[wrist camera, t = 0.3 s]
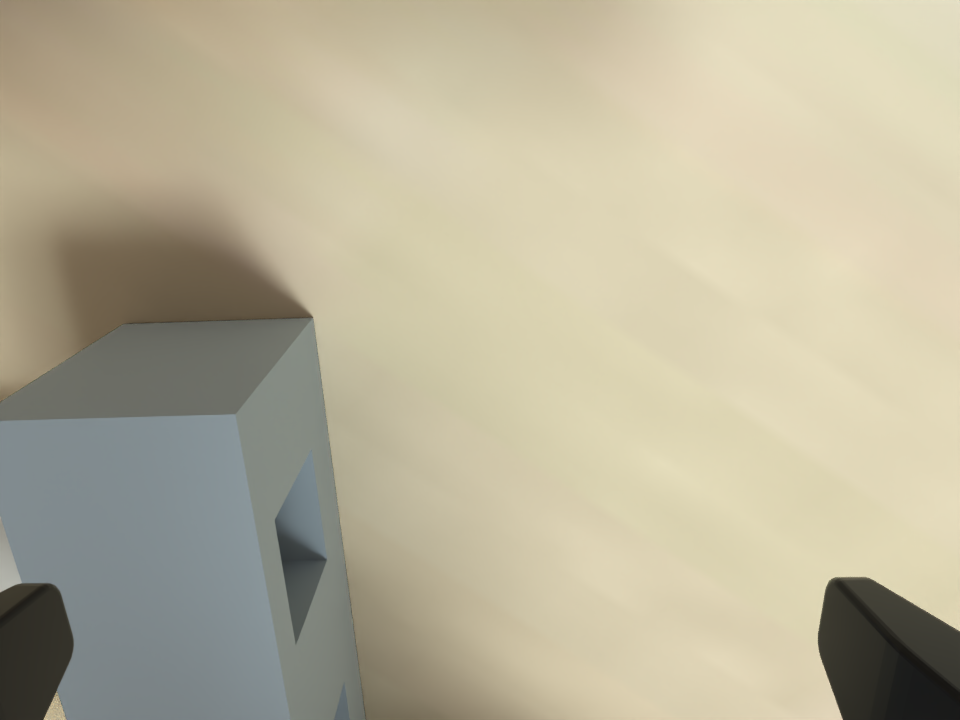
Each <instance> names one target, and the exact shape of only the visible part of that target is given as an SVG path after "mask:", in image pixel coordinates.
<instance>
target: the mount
mask: <svg viewBox="0 0 960 720" xmlns="http://www.w3.org/2000/svg"><path fill="white" fill-rule="evenodd" d="M0 517H1V520H2V523H3V526H4V529H5V532H6V536H7V539H8V542H9V545H10V548H11V551H12V554H13V557H14V560H15V563H16V566H17V569H18V572H19V575H20V578H21V582H22V583H51V584H53V585H55V586H57V588H58V589H59V590H60V592H61V595H62V598H63V602H64V605H65V609H66V612H67V616H68V619H69V623H70V626H71V630H72V633H73V638H74V649H73V654H72V658H71V660H70V663H69V665H68V667H67V669H66V672H65V674H64V676H63V678H62V680H61V682H60V685H59V687H58V689H57V692H58V695H59V698H60V701H61V704H62V707H63V710H64V713H65V716H66V719H67V720H366V718H365V710H364V703H363V695H362V687H361V680H360V672H359V665H358V657H357V649H356V642H355V634H354V626H353V619H352V611H351V604H350V596H349V588H348V581H347V573H346V565H345V558H344V550H343V542H342V535H341V527H340V520H339V512H338V504H337V497H336V489H335V481H334V474H333V466H332V459H331V451H330V443H329V436H328V428H327V420H326V413H325V405H324V398H323V390H322V382H321V375H320V367H319V359H318V352H317V344H316V336H315V329H314V321H313V318H288V319H258V320H228V321H198V322H168V323H138V324H122V325H121V326H119V327H118V328H116V329H115V330H113V331H111V332H110V333H108V334H107V335H105V336H104V337H102V338H100V339H99V340H97V341H96V342H94V343H93V344H91V345H89V346H88V347H86V348H85V349H83V350H82V351H80V352H78V353H77V354H75V355H74V356H72V357H71V358H69V359H67V360H66V361H64V362H63V363H61V364H59V365H58V366H56V367H55V368H53V369H52V370H50V371H48V372H47V373H45V374H44V375H42V376H41V377H39V378H37V379H36V380H34V381H33V382H31V383H30V384H28V385H26V386H25V387H23V388H22V389H20V390H19V391H17V392H15V393H14V394H12V395H11V396H9V397H8V398H6V399H4V400H3V401H1V402H0Z"/></svg>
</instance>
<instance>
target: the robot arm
mask: <svg viewBox="0 0 960 720" xmlns="http://www.w3.org/2000/svg"><path fill="white" fill-rule="evenodd" d="M818 647H819V653H820V657H821V660H822V663H823V665H824V668H825V671H826V674H827V677H828V679H829V682H830V685H831V688H832V691H833V693H834V696H835V699H836V702H837V705H838V707H839V710H840V713H841V716H842V719H843V720H960V631H958V630H957V629H955V628H953V627H952V626H950V625H948V624H946V623H945V622H943V621H941V620H940V619H938V618H936V617H935V616H933V615H931V614H930V613H928V612H926V611H924V610H923V609H921V608H919V607H918V606H916V605H914V604H913V603H911V602H909V601H908V600H906V599H904V598H903V597H901V596H899V595H897V594H896V593H894V592H892V591H891V590H889V589H887V588H886V587H884V586H882V585H881V584H879V583H877V582H876V581H874V580H872V579H870V578H866V577H835V578H833V579H831V580H830V581H829V582H828V584H827V587H826V590H825V596H824V602H823V608H822V614H821V619H820V625H819V631H818ZM73 649H74V638H73V633H72V630H71V626H70V623H69V619H68V616H67V612H66V609H65V605H64V602H63V598H62V595H61V592H60V590H59V589H58V588H57V586H55V585H53V584H51V583H20V584H16V585H14V586H12V587H10V588H8V589H6V590H4V591H2V592H0V720H43V719H44V717H45V715H46V713H47V711H48V708H49V706H50V704H51V702H52V700H53V698H54V695H55V693H56V691H57V689H58V687H59V685H60V682H61V680H62V678H63V676H64V674H65V672H66V669H67V667H68V665H69V663H70V660H71V658H72V654H73Z"/></svg>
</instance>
